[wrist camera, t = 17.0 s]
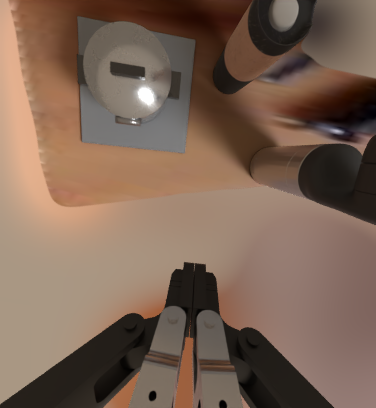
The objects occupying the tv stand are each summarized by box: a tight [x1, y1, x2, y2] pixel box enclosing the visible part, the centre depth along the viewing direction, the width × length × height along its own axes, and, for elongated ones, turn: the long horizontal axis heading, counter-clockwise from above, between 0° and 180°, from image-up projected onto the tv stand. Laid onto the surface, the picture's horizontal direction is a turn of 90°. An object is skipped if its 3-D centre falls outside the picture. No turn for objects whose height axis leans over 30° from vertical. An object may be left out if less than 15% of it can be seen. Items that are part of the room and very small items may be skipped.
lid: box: [83, 21, 171, 126], centre depth 29 cm, size 13×14×2 cm
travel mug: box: [213, 0, 317, 94], centre depth 31 cm, size 8×8×20 cm
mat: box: [77, 16, 196, 153], centre depth 39 cm, size 22×22×1 cm
